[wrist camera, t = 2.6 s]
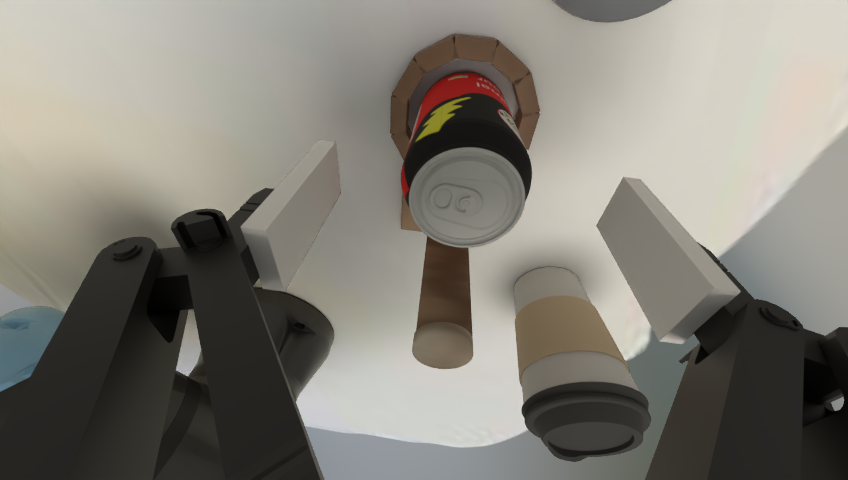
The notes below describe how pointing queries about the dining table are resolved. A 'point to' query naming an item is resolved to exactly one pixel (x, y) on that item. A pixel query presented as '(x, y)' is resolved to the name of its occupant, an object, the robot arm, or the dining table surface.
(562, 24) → the dining table surface
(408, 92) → the ring holder
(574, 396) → the coffee cup
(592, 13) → the slate coaster
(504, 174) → the beverage can
